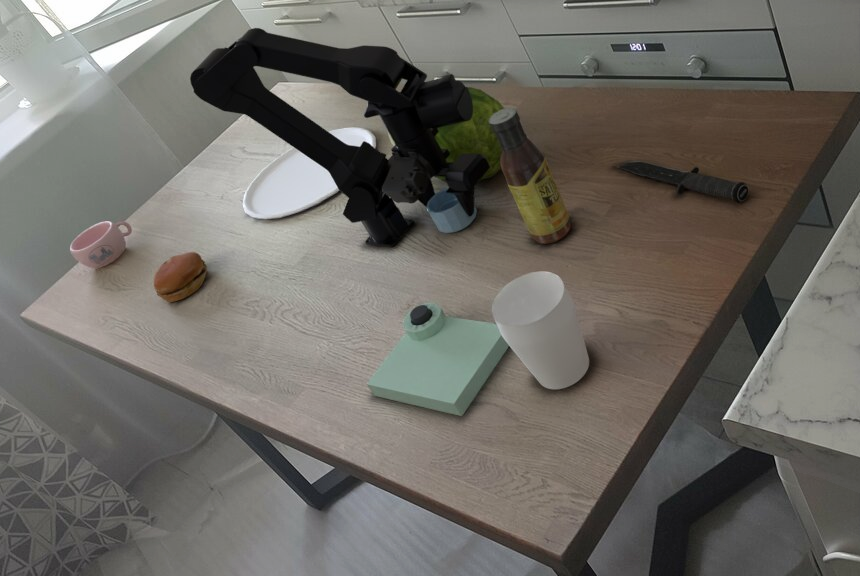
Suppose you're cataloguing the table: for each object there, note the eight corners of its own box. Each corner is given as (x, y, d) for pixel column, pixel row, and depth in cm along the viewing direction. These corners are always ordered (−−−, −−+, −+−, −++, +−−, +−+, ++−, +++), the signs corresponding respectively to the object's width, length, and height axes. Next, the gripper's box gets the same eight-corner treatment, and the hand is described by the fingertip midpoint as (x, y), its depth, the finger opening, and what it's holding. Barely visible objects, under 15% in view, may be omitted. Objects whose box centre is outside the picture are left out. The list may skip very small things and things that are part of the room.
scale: (373, 395, 110) (358, 375, 108) (430, 320, 118) (418, 300, 115) (462, 416, 102) (448, 395, 99) (517, 333, 109) (505, 312, 107)
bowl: (430, 234, 135) (418, 212, 132) (453, 206, 139) (442, 184, 136) (463, 236, 131) (451, 214, 128) (485, 208, 135) (474, 185, 132)
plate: (401, 153, 160) (398, 148, 159) (269, 241, 153) (265, 236, 152) (346, 118, 182) (344, 113, 181) (229, 193, 175) (226, 189, 174)
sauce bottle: (569, 242, 120) (517, 125, 108) (529, 249, 122) (474, 135, 110) (576, 213, 124) (528, 98, 112) (537, 220, 127) (486, 108, 115)
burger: (181, 306, 146) (165, 287, 144) (154, 300, 152) (137, 281, 149) (221, 268, 152) (206, 248, 149) (193, 263, 157) (178, 244, 154)
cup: (525, 354, 106) (488, 285, 98) (594, 332, 104) (561, 260, 97) (530, 407, 99) (491, 337, 91) (604, 384, 97) (569, 311, 90)
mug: (93, 280, 167) (72, 258, 164) (83, 265, 174) (63, 243, 171) (146, 244, 171) (127, 222, 167) (134, 230, 178) (116, 208, 175)
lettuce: (438, 139, 159) (401, 67, 149) (544, 150, 141) (509, 69, 132) (386, 189, 152) (344, 116, 142) (490, 206, 134) (450, 125, 125)
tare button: (410, 324, 113) (405, 317, 112) (421, 310, 114) (416, 303, 113) (424, 326, 111) (420, 319, 110) (435, 312, 113) (431, 305, 112)
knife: (754, 187, 112) (743, 179, 111) (737, 219, 113) (726, 212, 111) (634, 145, 130) (623, 138, 129) (620, 173, 131) (609, 166, 129)
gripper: (334, 165, 125) (383, 244, 135) (427, 166, 115) (473, 251, 124) (378, 121, 131) (421, 199, 141) (469, 118, 121) (510, 203, 130)
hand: (454, 213), depth 134 cm, fingers closed on bowl, 7 cm apart
